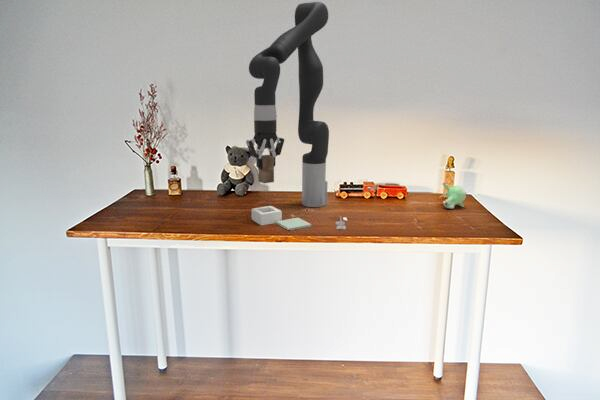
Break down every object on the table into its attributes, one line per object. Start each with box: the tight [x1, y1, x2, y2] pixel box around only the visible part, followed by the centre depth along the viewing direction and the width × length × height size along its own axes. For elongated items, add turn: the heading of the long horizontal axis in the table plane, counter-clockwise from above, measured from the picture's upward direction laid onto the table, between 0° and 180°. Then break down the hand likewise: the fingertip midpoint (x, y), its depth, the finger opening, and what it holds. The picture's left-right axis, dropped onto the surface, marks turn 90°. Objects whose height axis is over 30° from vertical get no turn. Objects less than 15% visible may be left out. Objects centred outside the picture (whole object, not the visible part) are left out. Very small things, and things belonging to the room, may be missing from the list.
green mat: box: [275, 217, 312, 231], centre depth 165 cm, size 9×9×1 cm
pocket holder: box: [250, 205, 283, 226], centre depth 169 cm, size 8×8×4 cm
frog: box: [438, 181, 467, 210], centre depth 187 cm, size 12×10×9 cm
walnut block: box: [257, 154, 275, 184], centre depth 165 cm, size 4×4×9 cm
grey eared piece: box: [335, 216, 348, 230], centre depth 167 cm, size 15×7×4 cm, turn 179°
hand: (265, 168), depth 165 cm, fingers closed on walnut block, 4 cm apart
